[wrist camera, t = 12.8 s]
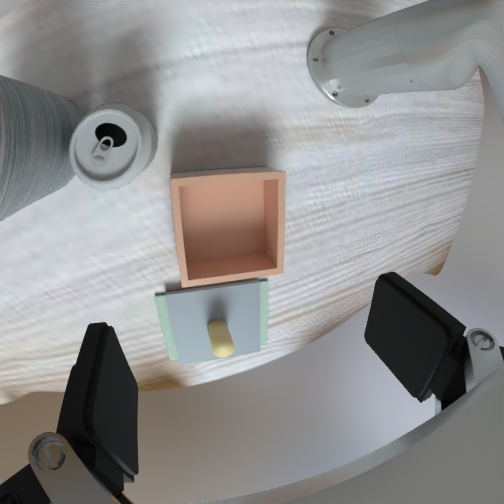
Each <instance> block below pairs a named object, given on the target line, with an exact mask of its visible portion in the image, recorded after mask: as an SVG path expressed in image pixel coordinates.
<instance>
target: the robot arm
mask: <svg viewBox="0 0 504 504" xmlns="http://www.w3.org/2000/svg"><path fill="white" fill-rule="evenodd" d="M313 59H314V60H313ZM479 65H480V66H481V67H482V68H483V70H484V71H485V73H486V75H487V78H488V80H489V83H490V85H491V87H492V90H493V92H494V96H495V99H496V102H497V105H498V109H499V112H500V116H501V119H502V123H503V126H504V0H428V1H425V2H422V3H420V4H416V5H413V6H410V7H407V8H404V9H401V10H398V11H396V12H393V13H390V14H387V15H385V16H382V17H380V18H377V19H375V20H372V21H370V22H367V23H365V24H362V25H360V26H358V27H356V28H353V29H351V30H348V29H344V28H330V29H327V30H325V31H323V32H321V33H319V34H318V35H317V36H316V37H315V38H314V39H313V40H312V42H311V44H310V46H309V49H308V66H309V71H310V73H311V76H312V78H313V80H314V82H315V84H316V85H317V87H318V88H319V89H320V91H321V92H322V93H323V94H324V95H325V96H326V97H327V98H329V99H330V100H332V101H333V102H334V103H337V104H339V105H341V106H344V107H348V108H359V107H364V106H368V105H369V104H371V103H373V102H374V101H375V100H376V99H377V97H378V96H379V95H380V94H390V93H402V92H417V91H447V90H455V89H458V88H460V87H462V86H464V85H465V84H466V83H467V82H468V81H469V80H470V79H471V78H472V76H473V75H474V73H475V72H476V70H477V68H478V66H479ZM465 329H466V326H464V325H463V324H462V323H461V322H459V321H458V320H457V319H456V318H455V317H453V316H452V315H451V314H450V313H448V312H447V311H446V310H445V309H443V308H442V307H440V306H439V305H438V304H437V303H436V302H434V301H433V300H432V299H430V298H429V297H428V296H426V295H425V294H424V293H422V292H421V291H420V290H419V289H417V288H416V287H414V286H413V285H412V284H411V283H409V282H408V281H406V280H405V279H404V278H402V277H401V276H400V275H398V274H397V273H395V272H389V273H385V274H381V275H380V276H379V277H378V279H377V281H376V283H375V288H374V293H373V298H372V303H371V308H370V312H369V317H368V321H367V325H366V329H365V334H364V337H365V340H366V342H367V344H368V345H369V346H370V347H371V348H372V349H373V351H375V353H376V354H377V355H378V356H379V358H380V359H381V360H382V361H383V362H384V363H385V365H386V366H387V367H388V368H389V369H390V370H391V371H392V373H393V374H394V375H395V376H396V378H397V379H398V380H399V381H400V382H401V383H402V385H403V386H404V387H405V388H406V389H407V390H408V392H409V393H410V394H411V395H412V396H413V397H414V398H417V399H418V400H419V402H420V403H422V402H423V401H425V400H426V399H428V398H430V396H431V395H432V393H433V394H434V395H435V416H434V417H433V418H431V419H429V420H428V421H426V422H425V423H423V424H422V425H420V426H418V427H417V428H415V429H414V430H412V431H410V432H408V433H407V434H405V435H403V436H402V437H400V438H398V439H396V440H394V441H393V442H391V443H389V444H387V445H385V446H383V447H381V448H379V449H377V450H375V451H374V452H371V453H369V454H367V455H365V456H363V457H361V458H359V459H356V460H354V461H352V462H350V463H348V464H345V465H342V466H340V467H338V468H335V469H333V470H330V471H328V472H325V473H322V474H319V475H317V476H314V477H311V478H308V479H305V480H302V481H299V482H296V483H292V484H289V485H286V486H282V487H278V488H275V489H271V490H267V491H263V492H259V493H254V494H250V495H245V496H240V497H234V498H229V499H223V500H216V501H209V502H201V503H193V504H504V347H501V346H499V345H498V342H497V340H496V338H495V337H494V336H493V334H491V333H490V332H489V331H486V330H484V329H480V328H474V329H471V330H469V331H468V333H467V335H466V337H464V336H463V334H464V331H465ZM137 411H138V386H137V382H136V380H135V378H134V376H133V373H132V371H131V369H130V367H129V365H128V362H127V360H126V358H125V355H124V353H123V351H122V348H121V346H120V343H119V341H118V338H117V336H116V333H115V331H114V328H113V327H112V326H108V325H107V323H105V322H101V323H91V324H89V325H88V327H87V330H86V333H85V336H84V339H83V342H82V345H81V348H80V352H79V355H78V358H77V362H76V364H75V365H74V366H73V367H72V369H71V372H70V376H69V379H68V383H67V387H66V391H65V395H64V399H63V403H62V408H61V412H60V416H59V421H58V426H57V431H56V433H54V432H45V433H42V434H40V435H38V436H37V437H36V438H34V439H33V441H32V442H31V444H30V446H29V450H28V459H29V462H30V463H29V464H28V465H27V466H25V467H24V468H23V469H21V470H20V471H19V472H17V473H16V474H15V475H13V476H12V477H10V478H9V479H8V480H7V481H5V482H4V483H2V484H1V485H0V504H134V503H133V502H132V501H131V500H130V499H129V498H128V497H127V496H126V494H125V493H123V490H124V482H128V483H129V482H130V483H134V475H137V474H138V470H139V469H138V441H137V413H138V412H137Z"/></svg>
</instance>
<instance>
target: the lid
mask: <svg viewBox="0 0 504 504" xmlns="http://www.w3.org/2000/svg"><path fill="white" fill-rule="evenodd" d="M165 296H166V301H167V306H168V311H169V316H170V321H171V326H172V330H173V335H174V339H175V344H176V348H177V352H178V356H179V360H180V364H181V365H182V364H190V363H197V362H204V361H210V360H216V359H222V358H228V357H234V356H239V355H244V354H249V353H254V352H259V351H260V281H259V280H251V281H244V282H237V283H230V284H223V285H216V286H209V287H202V288H194V289H187V290H179V291H171V292H165Z"/></svg>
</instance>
